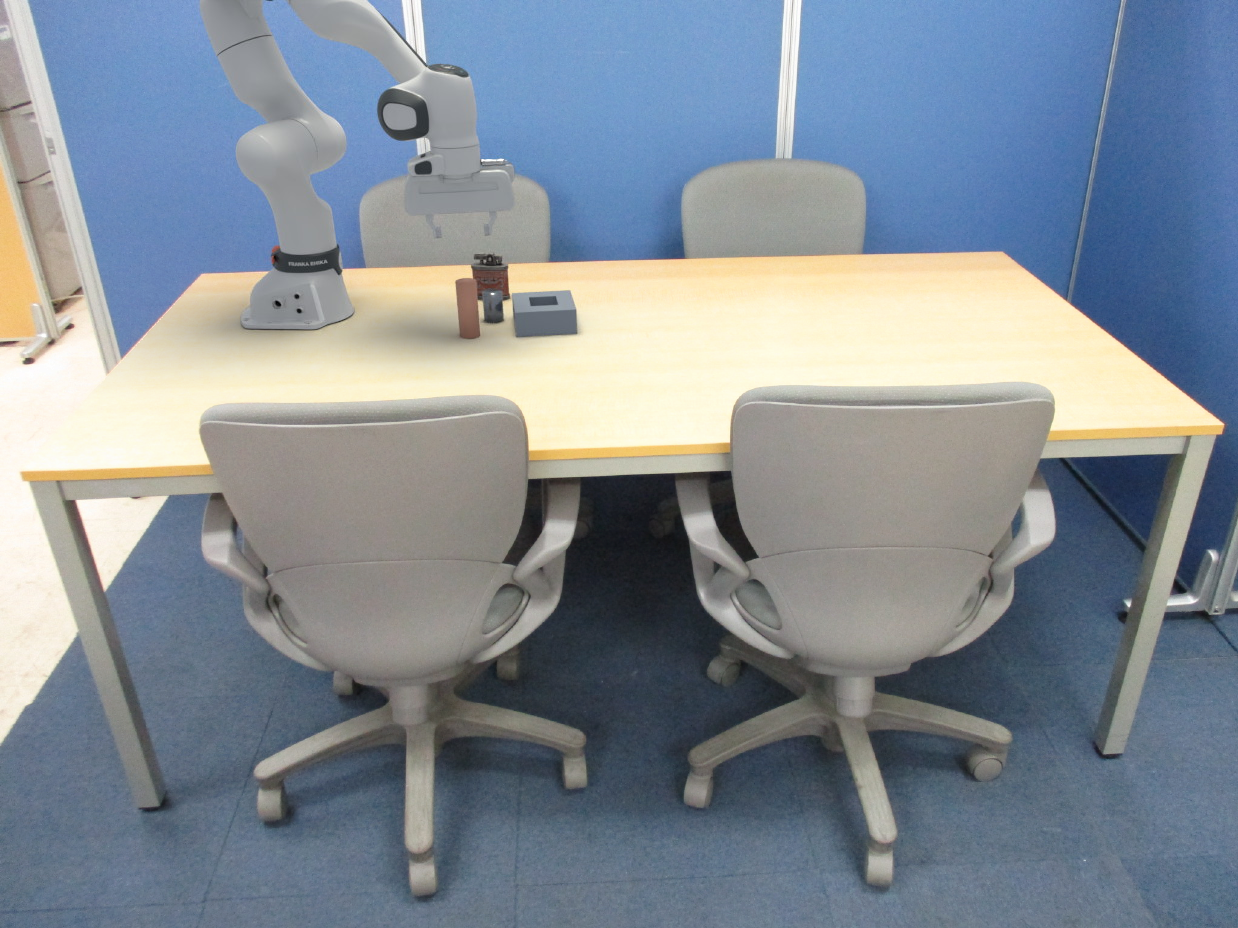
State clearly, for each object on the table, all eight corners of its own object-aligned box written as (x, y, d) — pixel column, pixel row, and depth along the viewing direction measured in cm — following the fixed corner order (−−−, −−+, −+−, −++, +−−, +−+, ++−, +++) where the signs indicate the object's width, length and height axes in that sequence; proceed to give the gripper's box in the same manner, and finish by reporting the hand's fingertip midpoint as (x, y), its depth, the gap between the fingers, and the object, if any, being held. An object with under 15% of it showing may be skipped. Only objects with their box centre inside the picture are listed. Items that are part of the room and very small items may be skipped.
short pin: (484, 323, 201) (482, 295, 198) (484, 317, 204) (482, 289, 202) (504, 322, 201) (502, 294, 199) (503, 316, 205) (501, 288, 202)
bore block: (516, 337, 194) (515, 312, 192) (513, 316, 205) (511, 293, 202) (577, 333, 196) (576, 309, 193) (570, 313, 206) (570, 290, 204)
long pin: (459, 339, 193) (455, 285, 188) (459, 332, 197) (455, 278, 192) (480, 338, 194) (476, 284, 189) (480, 331, 197) (476, 277, 192)
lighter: (511, 296, 216) (509, 251, 211) (508, 301, 213) (505, 255, 208) (475, 295, 217) (472, 250, 212) (471, 300, 214) (468, 254, 209)
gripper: (512, 154, 183) (517, 229, 190) (400, 160, 181) (409, 234, 187) (514, 161, 178) (519, 237, 184) (399, 166, 175) (408, 243, 182)
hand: (463, 236), depth 186 cm, fingers open, 8 cm apart
